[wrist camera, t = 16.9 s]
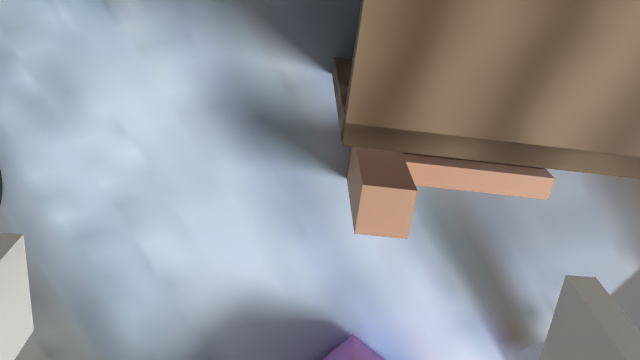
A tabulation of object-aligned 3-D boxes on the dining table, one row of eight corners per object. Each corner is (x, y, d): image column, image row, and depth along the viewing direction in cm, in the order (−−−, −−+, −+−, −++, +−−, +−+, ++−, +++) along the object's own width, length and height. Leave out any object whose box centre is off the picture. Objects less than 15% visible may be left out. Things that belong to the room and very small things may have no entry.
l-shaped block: (346, 178, 48) (354, 233, 40) (353, 137, 46) (362, 184, 38) (537, 199, 49) (583, 257, 41) (549, 159, 47) (599, 210, 39)
